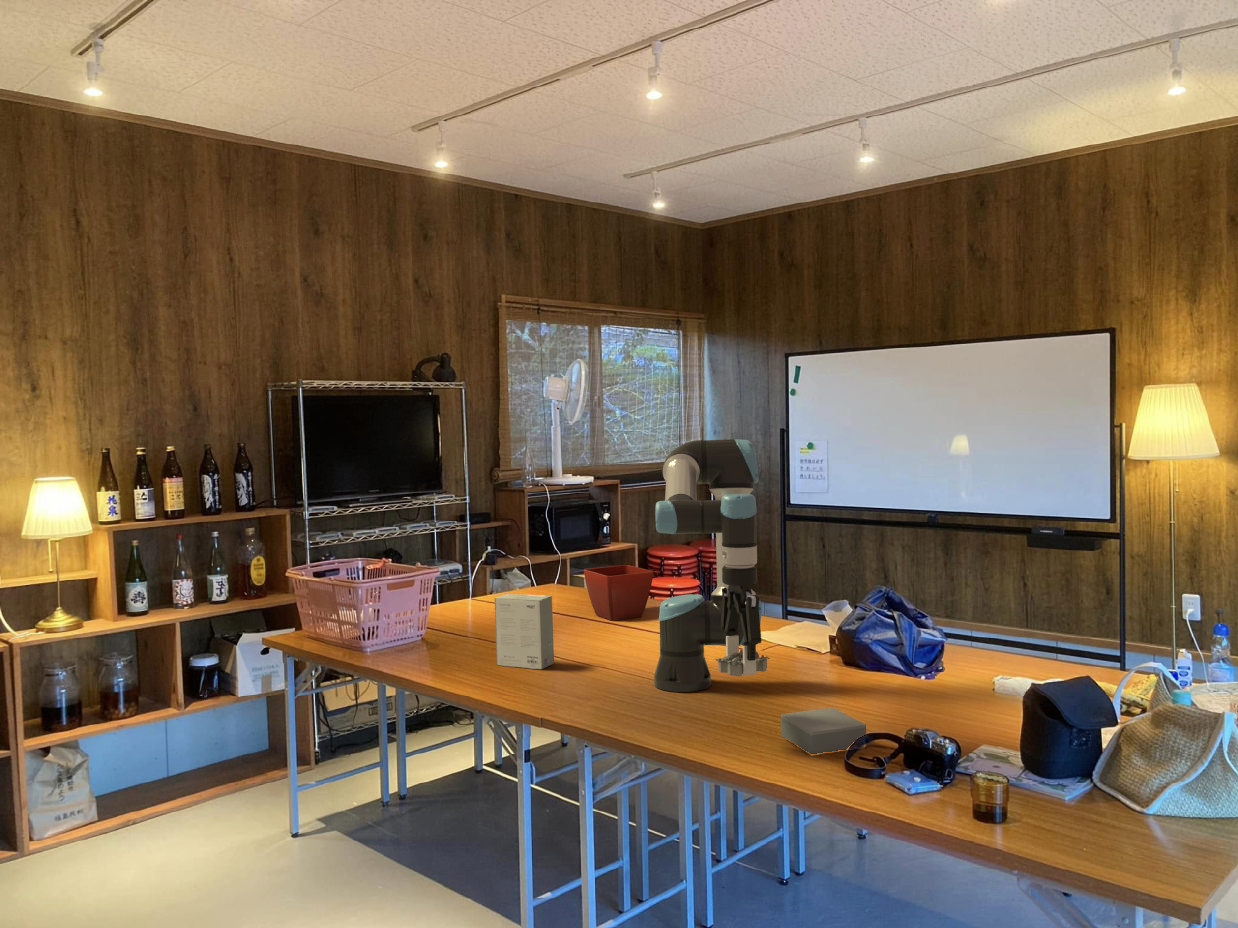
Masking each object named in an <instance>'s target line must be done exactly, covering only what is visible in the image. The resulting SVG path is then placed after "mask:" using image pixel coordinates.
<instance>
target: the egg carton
mask: <svg viewBox="0 0 1238 928" xmlns="http://www.w3.org/2000/svg"><path fill="white" fill-rule="evenodd" d="M715 660H716V662H717V664H718V665H717V666H718V667H717V671H718V672H719V673H726V674H727V675H729V676H733V677H742V675H743V648H742V649H740V650H739V653H734V654H733V655H731V656H724V657H722V658H721V657H719V658H715ZM768 660H771V658H770V657H768V655H766V656H764V654H762V655H761V657H760V655H759V652H758V651H757V650H756V672H762V673H765V672H766V671H767V668H768Z"/></svg>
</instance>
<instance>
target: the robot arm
mask: <svg viewBox="0 0 1238 928" xmlns="http://www.w3.org/2000/svg"><path fill="white" fill-rule="evenodd" d="M755 450H756V449H755V446H754V444H753V442H751V440H748V439H739V438H737V439H736V438H734V439H733V438H732V439H731V438H730V439H705V440H704V439H696V440H691V441H688V442H685V443H682V444H681V445H679V446H677V447H675V448H674V449H673V450H672V451H671V452H670V453H669V454H668V455H667V457H666V458H665V460H664V462H663V466H662V476H663V479H664V481H665V496H664V500H659V501H657V502H656V503H655V530H656V532H657V533H660V534H670V535H679V534H680V535H681V534H682V535H683V534H684V535H685V534H715V536H716V537H715V545H716V546H715V547H716V548H715V549H716V550H715V551H716V588H715V589H714V590H713V591H712V593H711V595H710V596H711V597H710V598H711V600H705V598H704V597H703V595H702V594H699V593H698V594H696V593H695V594H691V593H690V594H682V595H675V596H672V597H669V598H666V599H664V600H663V601H661V602H660V606H659V616H658V621H659V650H660V651H659V659H658V662H657V664H656V668H655V672H654V674H653V685H654V687H655V688H656V689H659V690H662V691H666V692H674V693H675V692H676V693H677V692H678V693H690V692H699V691H702V690H706V689H708V688H710V687H711V686H712V675H711V672H710V669H709V665H708V662H707V660H706V657H705V646H725V652H726V653H725V655H726V656H731V655H733V654H734V653H740V650H739V649H740V648H739V647H741V646H742V649H743V674H742V675H743V676H744V677H746V676H754V675H757V671H756V651H757V645H758V644H761V643H762V630H761V624H762V623H761V621H762V608H763V606H762V605H763V604H762V600H760V597H759V596H758V595H757V594H756V592H755V591H754V590H753V589H752V586H753V585H755V584H757V583H758V567H757V566H755V565H756V564H758V545H757V544H758V543H757V513H758V511H757V510H758V509H757V503H756V496H754V495H753V494H751V493H752V492H753V491H754V484H757V483H758V482H759V480H760V478H759V477H760V476H759V468H758V467H759V466H758V459H757V454H756V451H755ZM697 484H703V485H704V484H708V485H709V486H708V487H709V488H708V489H709V492H710V493H711V494H713V496H714V498H715V499H711V500H710V499H709V500H707V499H701V500H700V499H699V500H698V499H697ZM756 595H757V596H756ZM726 656H725V657H726Z"/></svg>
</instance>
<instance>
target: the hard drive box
mask: <svg viewBox="0 0 1238 928" xmlns="http://www.w3.org/2000/svg"><path fill="white" fill-rule="evenodd" d="M494 617H495V618H494V619H495V620H494V622H495V647H496V649H495V651H496V653H495V654H496V665H497V666H502V667H503V666H504V667H513V668H524V669H533V670H534V669H535V670H544V669H545V668H547V667H550V666H551V665H554V664H555V651H554V647H555V646H554V627H553V626H554V623H553V619H554V618H553V595H541V594H539V595H538V594H519V593H518V594H517V593H506V594H503V595H500V596H497V597H494Z"/></svg>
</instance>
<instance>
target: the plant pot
mask: <svg viewBox="0 0 1238 928" xmlns="http://www.w3.org/2000/svg"><path fill="white" fill-rule="evenodd" d="M583 574H584V580H585V584H586V585H585V586H586V589H587V592H588V593H587V594H588V596H589V600H590V603H591V606H592V608H593V610H594V611H593V612H594V613H595V614H594V615H595V616H598V617H601V618H603V619H606V620H609V621H611V622H612V621H613V622H614V621H620V620H629V619H635V618H642V617H643V615H644V613H645V609H646V606H647V603H648V600H649V596H650V593H651V590H652V589H651V588H652V584H653V579H654V571H653V570H650V569H646V568H641V567H638V566H634V565H629V564H622V565H614V566H613V565H612V566H602V567H593V568H584V569H583Z"/></svg>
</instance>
